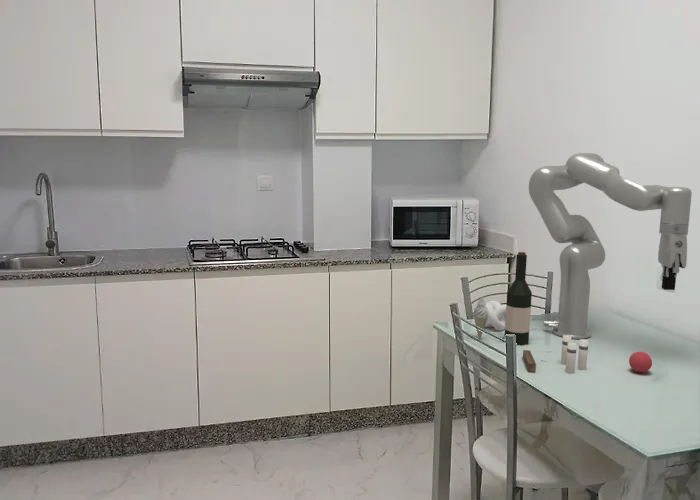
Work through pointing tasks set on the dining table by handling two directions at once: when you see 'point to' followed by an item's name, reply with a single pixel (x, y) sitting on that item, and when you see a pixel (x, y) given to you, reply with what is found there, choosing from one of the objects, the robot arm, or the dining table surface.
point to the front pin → (582, 354)
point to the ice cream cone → (480, 316)
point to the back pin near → (571, 357)
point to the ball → (640, 362)
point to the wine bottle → (519, 303)
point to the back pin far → (565, 348)
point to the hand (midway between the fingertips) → (668, 289)
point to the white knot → (496, 315)
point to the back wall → (529, 361)
